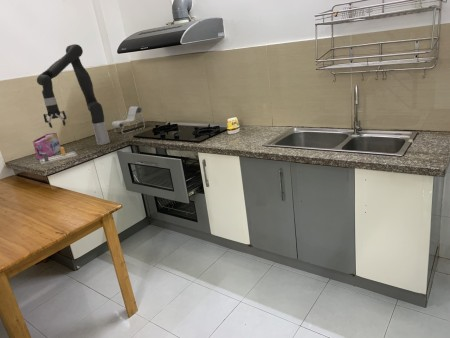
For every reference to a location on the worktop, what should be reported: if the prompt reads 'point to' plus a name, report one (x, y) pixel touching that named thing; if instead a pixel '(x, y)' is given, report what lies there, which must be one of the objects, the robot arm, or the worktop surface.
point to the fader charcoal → (45, 156)
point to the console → (59, 157)
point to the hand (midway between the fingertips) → (58, 126)
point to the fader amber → (62, 150)
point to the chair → (129, 118)
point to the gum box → (46, 145)
